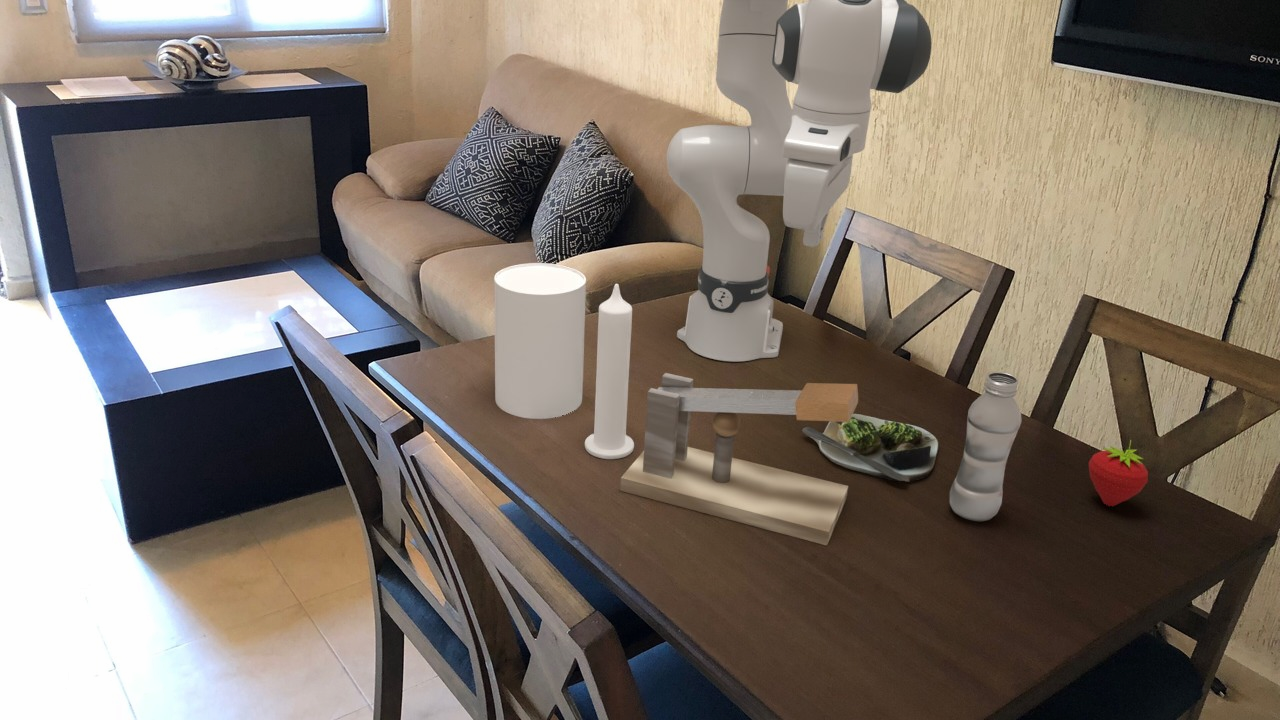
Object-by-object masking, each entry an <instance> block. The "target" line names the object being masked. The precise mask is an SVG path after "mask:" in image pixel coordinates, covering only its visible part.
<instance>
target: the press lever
mask: <svg viewBox="0 0 1280 720" xmlns="http://www.w3.org/2000/svg"><path fill="white" fill-rule="evenodd" d="M657 389H658V390H662V391H666V392H671V393H675V394H680V400H679V411H691V412H702V413H703V412H704V413H717V412H728V413H737V414H757V415H759V414H760V415H761V414H763V415H764V414H765V415H787V416H788V415H790V416H791V415H792V416H793V415H794V416H795V415H796V421H813V422H815V421H816V422H817V421H818V422H830V421H838V422H849V420H850V418H851V416H852V414H854V412H855V410H856V408H857V405H858V403H859V392H858V391H859V390H858V383H825V382H824V383H821V382H820V383H819V382H814V383H813V382H807V383H806V384H805V385H804V387H803V389H802V390H799V389H797V390H796V389H792V390H790V389H756V388H755V389H753V388H713V387H712V388H711V387H708V388H705V387H693V388H675V387H661V386H659V387H658V388H657Z"/></svg>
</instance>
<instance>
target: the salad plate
mask: <svg viewBox="0 0 1280 720" xmlns="http://www.w3.org/2000/svg"><path fill="white" fill-rule="evenodd" d="M802 433H803V434H805V435H806V436H807V437H809V438H811V439H812V440H813V441H815V442H816V443H817V445H818V447H819V450H820V452H821V453H822V455H824V456H825V457H826V458H828V459H829V460H830V461H831V462H833V463H834V464H836V465H839V466H841V467H843V468H845V469H847V470H852V471H856V472H860V473H862V474H863V473H864V474H866V473H867V474H866V475H870V476H874V477H877V478H881V479H885V480H890V481H893V480H894V482H901V481H905V483H906V482H909V483H910V482H914V481H913V480H915V481H918V480H917V479H919V480H922V479H924V478H925V476H926V477H927V476H928V475H929V474H930V473H931V471H932V470H933V469H934V467H935V464H936V458H937V456H938V453H939V449H940V444H939V440H938V438H936V436H935V435H933V434H932V433H931V432H930V431H928V430H926V429H925V428H922V427H920V426H916V425H912V424H909V423H905V422H896V421H894V420H893V421H891V420H887V419H881V418H877V417H874V416H870V415H864V414H858V413H853V414H852V416H851V418H850V420H849V422H838V421H828V424H827V425H826V427H825V429H824V432H821V431H819V430H817V429H815V428H813V427H811V426H805V427H803V429H802ZM889 450H890V451H889ZM921 478H922V479H921Z"/></svg>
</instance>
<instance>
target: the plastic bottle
mask: <svg viewBox="0 0 1280 720" xmlns="http://www.w3.org/2000/svg"><path fill="white" fill-rule="evenodd" d="M1018 385H1019V380H1018V378H1017V377H1016V376H1015V375H1012V374H1010V373H1006V372H1001V371H994V372H991V373H988V374H987V377H986V381H985V384H984V386H983V387H984V388H983V389H984V390H983V391H985V392H984V393H982V394H981V395H980V396H978V397H977V399H975V400H974V401H973V402H972V403H971V405H970V407H969V409H968V410H967V411H968V412H967V413H968V414H967V420H966V438H965V443H964V450H963V455H962V456H963V457H962V459H961V462H960V466H959V467H958V471H957V474H956V477H955V479H954V481H953V482H952V485H951V487H950V489H949V505H950V507H951V510H952V511H953V512H954V513H955V515H957V516H959V517H961V518H963V519H965V520H969V521H973V522H985V521H986V522H987V521H989V520H991V519H992V518H993V517H995V516H996V515H997V514H998V512H999V511H1000V508H1001V506H1002V504H1003V494H1004V492H1003V488H1004V487H1003V484H1004V478H1005V470H1006V465H1007V462H1008V457H1009V454H1010V452H1011V449H1012V445H1013V443H1014V441H1015V438H1016V436H1017V434H1018V431H1019V429H1020V427H1021V425H1022V412H1021V410H1020V408H1019V405H1018V404H1017V402H1016V400H1015V398H1014V397H1016V395H1017V393H1018V392H1017V391H1018V390H1017V389H1018Z"/></svg>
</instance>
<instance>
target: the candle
mask: <svg viewBox="0 0 1280 720" xmlns="http://www.w3.org/2000/svg"><path fill="white" fill-rule="evenodd" d="M632 320H633V307H632V305H631V304H630V303H628V302H627V301H626V300H625V299H623V297H622V295H621V290H620V286H619V283H615V284H614V286H613V289H612V293H611V296H610V297H609V298H608V299H607V300H605V301H603V302H601V303H600V304H599V306H598V324H597V325H598V326H597V346H596V347H597V349H596V350H597V351H596V353H597V354H596V374H595V379H596V380H595V401H594V431H593V432H594V433H591V434H590V435H588V437H586V438H585V441H584V448H585V451H586V452H587V453H588V454H590V455H591V456H593V457H595V458H600V459H604V460H618V459H622V458H625V457H629V455H631V453H632V452H633V451H634V449H635V443H634V440H633V439H632V438H631V437H630V436H629V435H627V434H626V433H627V419H628V418H627V414H628V400H629V399H628V397H629V378H630V359H631V358H630V356H631V343H632V342H631V339H632V325H633V323H632V322H633V321H632Z"/></svg>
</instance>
